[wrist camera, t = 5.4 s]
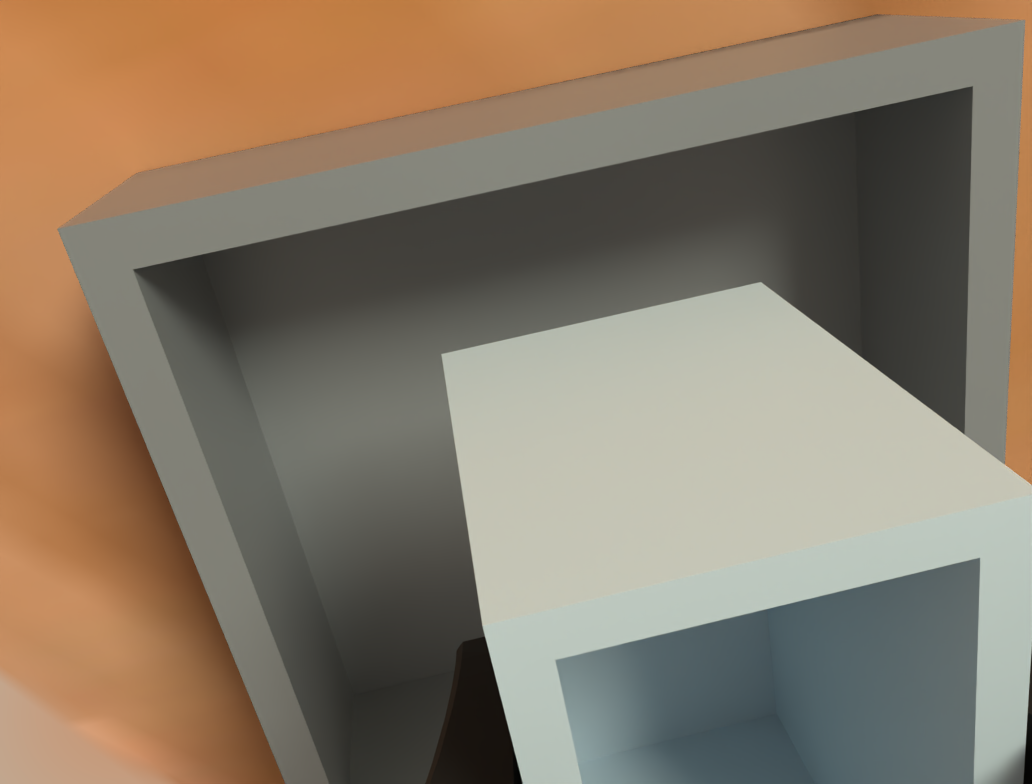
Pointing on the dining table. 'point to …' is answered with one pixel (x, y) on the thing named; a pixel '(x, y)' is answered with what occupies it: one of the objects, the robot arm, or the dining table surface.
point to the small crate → (738, 556)
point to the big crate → (521, 317)
